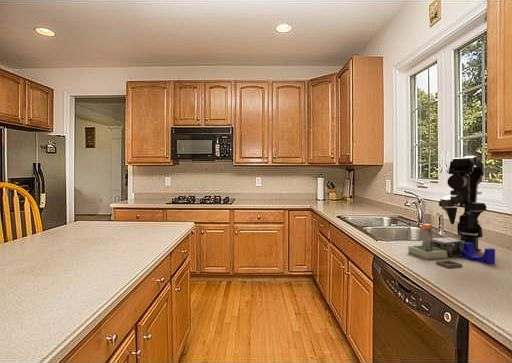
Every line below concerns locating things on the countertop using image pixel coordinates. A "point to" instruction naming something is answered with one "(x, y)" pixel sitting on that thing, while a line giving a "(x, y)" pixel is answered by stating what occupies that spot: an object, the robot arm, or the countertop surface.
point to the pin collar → (453, 265)
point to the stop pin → (427, 237)
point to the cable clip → (472, 255)
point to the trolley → (448, 245)
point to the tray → (427, 255)
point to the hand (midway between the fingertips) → (461, 225)
